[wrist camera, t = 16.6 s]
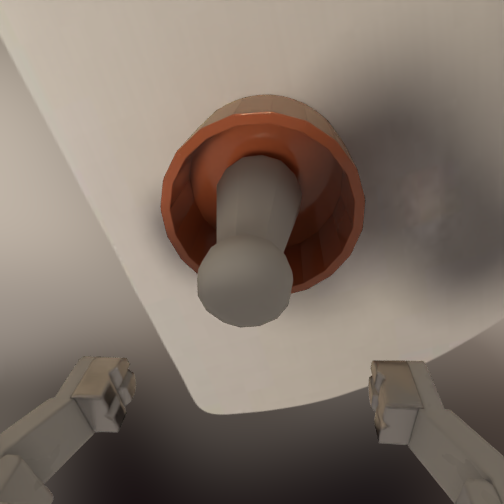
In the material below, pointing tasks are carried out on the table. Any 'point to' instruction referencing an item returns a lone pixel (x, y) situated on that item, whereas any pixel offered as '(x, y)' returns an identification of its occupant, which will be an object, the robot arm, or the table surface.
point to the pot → (294, 157)
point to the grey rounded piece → (251, 243)
